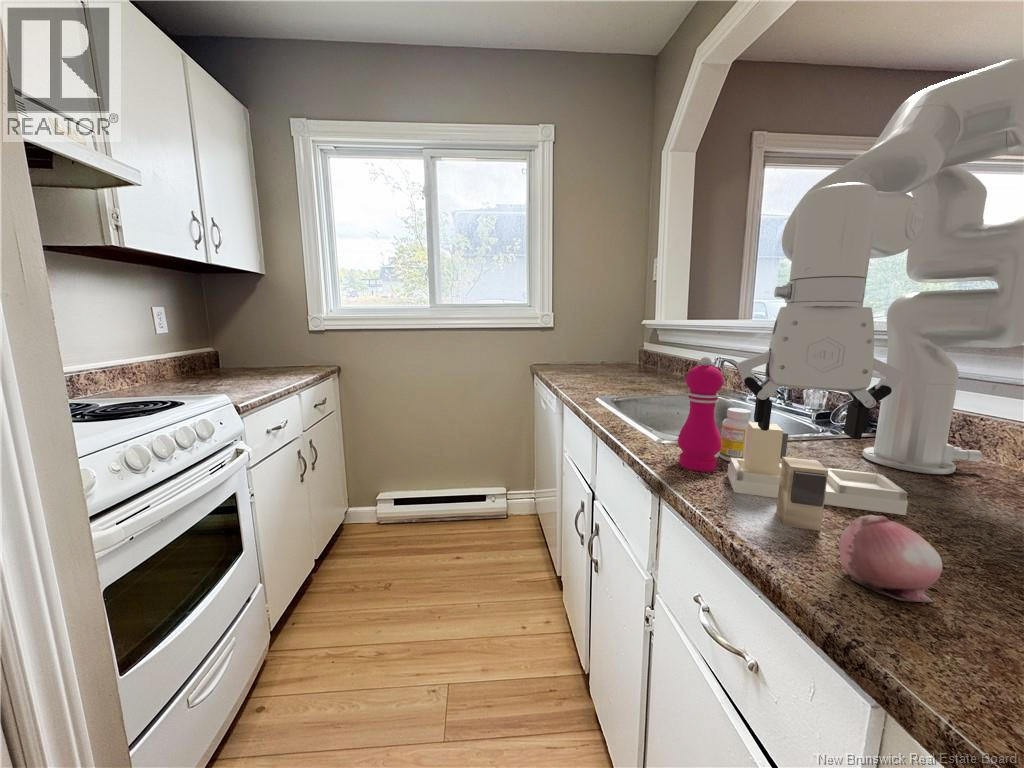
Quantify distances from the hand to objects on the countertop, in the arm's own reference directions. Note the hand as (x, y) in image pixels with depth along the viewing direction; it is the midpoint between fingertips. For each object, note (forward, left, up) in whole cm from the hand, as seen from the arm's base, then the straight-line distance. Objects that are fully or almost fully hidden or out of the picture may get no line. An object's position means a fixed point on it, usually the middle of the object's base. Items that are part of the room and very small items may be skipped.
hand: (806, 432), depth 53 cm
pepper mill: (+11, -18, -12) cm, 25 cm away
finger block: (0, 0, -12) cm, 12 cm away
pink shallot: (-4, +13, -12) cm, 18 cm away
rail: (-4, -11, -12) cm, 17 cm away
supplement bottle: (+4, -25, -12) cm, 29 cm away
